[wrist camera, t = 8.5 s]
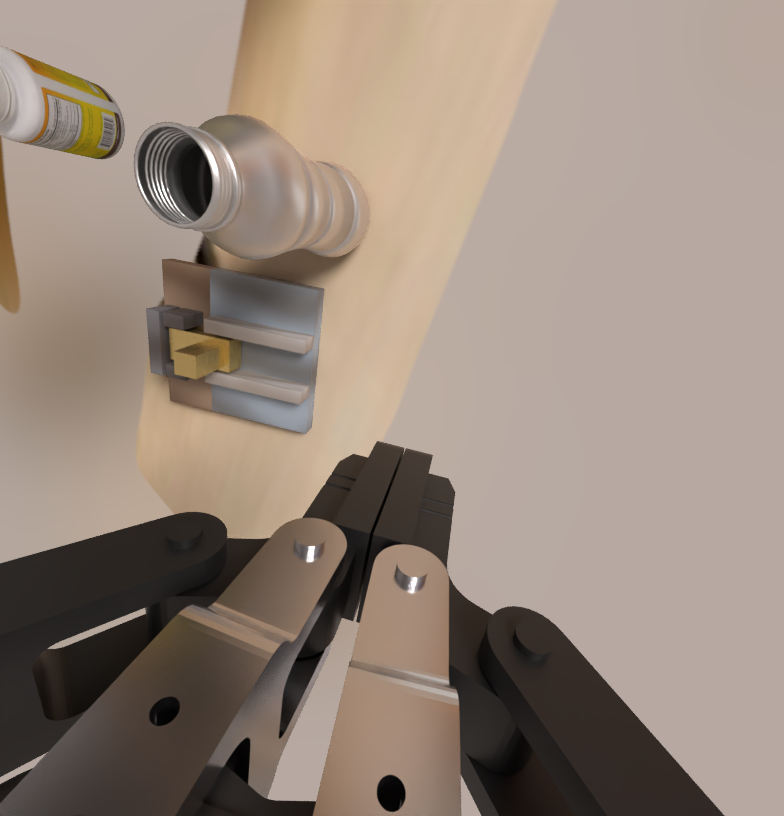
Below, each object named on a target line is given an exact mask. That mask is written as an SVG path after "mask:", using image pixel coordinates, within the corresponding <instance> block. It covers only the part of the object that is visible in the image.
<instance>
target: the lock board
mask: <svg viewBox="0 0 784 816" xmlns="http://www.w3.org/2000/svg"><path fill="white" fill-rule="evenodd" d="M162 269H163V286H164V303H165V305H163V306H158V307H153V308H147V309H146V312H147V325H148V339H149V352H150V365H151V373H155V374H159V375H165V374H166V376H167V377H169V389H170V400H171V401H175V402H179V403H183V404H187V405H191V406H195V407H199V408H203V409H207V410H211V411H215V412H219V413H223V414H227V415H232V416H236V417H240V418H244V419H248V420H252V421H256V422H260V423H264V424H268V425H272V426H276V427H280V428H284V429H288V430H292V431H297V432H301V433H305V434H306V433H307V432H308V431H309V430H310V429H311V428H312V417H313V406H314V395H315V384H316V373H317V362H318V352H319V341H320V330H321V319H322V308H323V297H324V289H323V288H318V287H313V286H308V285H303V284H298V283H293V282H288V281H283V280H277V279H272V278H267V277H262V276H257V275H252V274H247V273H242V272H237V271H232V270H227V269H222V268H217V267H212V266H207V265H202V264H197V263H192V262H186V261H181V260H176V259H163V260H162ZM169 327H171V328H176V329H180V330H186V329H190V328H193V327H201V328H204V332H206V333H210V334H215V335H219V336H224V337H228V338H233V339H238V340H241V367H240V368H238V369H236V370H234V371H232V372H230V373H228V372H224V371H220V370H215V371H213V372H211V373H209V374H207V375H205V376H203V377H201V378H198V379H193V378H189V377H184V376H180V375H176V374H175V371H174V360H172V359H170V342H169Z"/></svg>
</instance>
